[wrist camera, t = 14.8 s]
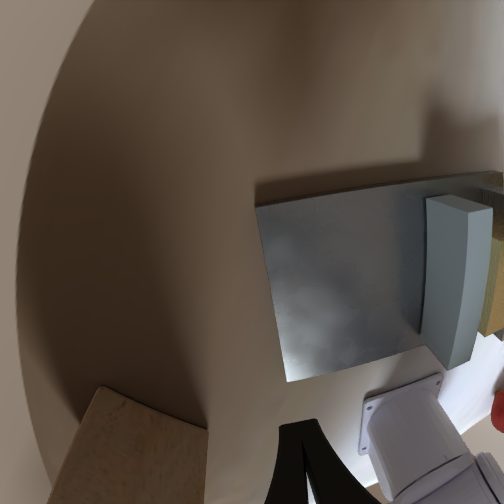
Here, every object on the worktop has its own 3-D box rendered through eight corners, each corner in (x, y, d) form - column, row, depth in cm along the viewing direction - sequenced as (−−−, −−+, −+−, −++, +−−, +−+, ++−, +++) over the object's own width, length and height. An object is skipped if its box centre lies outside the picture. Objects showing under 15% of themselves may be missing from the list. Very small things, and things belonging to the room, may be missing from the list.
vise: (483, 311, 20) (517, 340, 15) (285, 372, 20) (295, 425, 15) (494, 170, 16) (542, 181, 11) (254, 204, 16) (260, 226, 12)
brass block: (477, 288, 18) (517, 319, 13) (444, 300, 18) (484, 337, 13) (483, 211, 16) (533, 231, 11) (448, 218, 16) (501, 241, 11)
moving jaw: (441, 329, 18) (469, 360, 15) (420, 337, 19) (447, 370, 15) (450, 194, 15) (492, 207, 11) (426, 198, 15) (468, 212, 12)
